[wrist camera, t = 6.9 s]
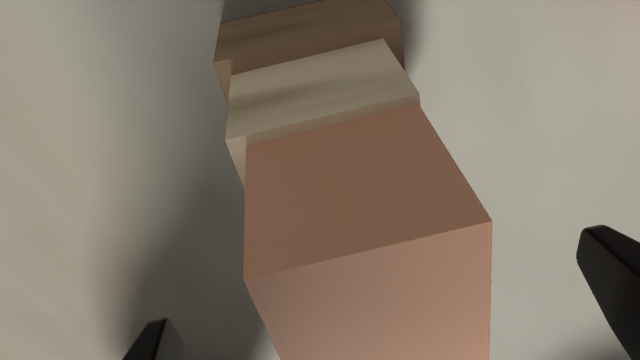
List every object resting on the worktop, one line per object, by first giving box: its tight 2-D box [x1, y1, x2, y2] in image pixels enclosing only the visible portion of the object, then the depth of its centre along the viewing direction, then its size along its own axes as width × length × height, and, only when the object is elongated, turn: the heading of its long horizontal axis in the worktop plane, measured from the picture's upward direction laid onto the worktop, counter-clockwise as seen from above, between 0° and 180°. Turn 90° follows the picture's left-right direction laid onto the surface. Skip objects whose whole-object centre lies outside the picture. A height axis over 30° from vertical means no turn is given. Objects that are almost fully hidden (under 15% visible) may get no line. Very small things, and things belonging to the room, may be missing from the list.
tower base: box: [213, 0, 405, 103], centre depth 18 cm, size 6×6×4 cm
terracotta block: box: [243, 104, 492, 360], centre depth 11 cm, size 4×4×4 cm
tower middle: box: [225, 38, 420, 190], centre depth 15 cm, size 5×5×4 cm
